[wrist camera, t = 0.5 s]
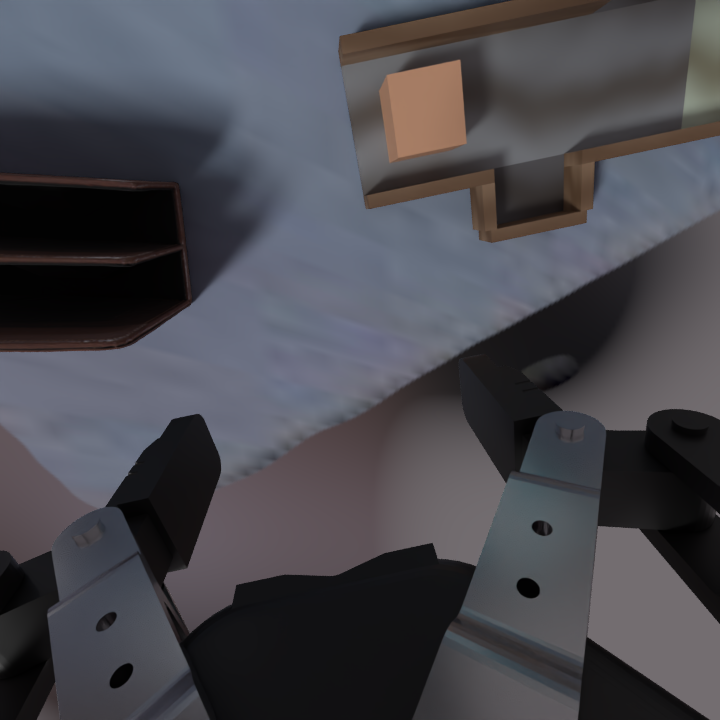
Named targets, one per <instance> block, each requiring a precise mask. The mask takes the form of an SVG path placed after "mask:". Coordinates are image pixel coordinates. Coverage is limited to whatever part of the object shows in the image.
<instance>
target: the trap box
mask: <svg viewBox="0 0 720 720" xmlns="http://www.w3.org/2000/svg"><path fill="white" fill-rule="evenodd" d="M338 52H339V58H340V63H341V69H342V75H343V81H344V86H345V92H346V98H347V104H348V109H349V115H350V121H351V126H352V132H353V138H354V144H355V149H356V155H357V161H358V166H359V172H360V178H361V184H362V189H363V195H364V201H365V206H366V209H372V208H377V207H381V206H386V205H391V204H396V203H400V202H405V201H410V200H415V199H419V198H424V197H429V196H434V195H438V194H443V193H448V192H453V191H457V190H462V189H467V188H470V196H471V209H472V223H473V229H474V230H479V240H482V241H487V242H491V243H493V242H498V241H503V240H507V239H512V238H517V237H522V236H526V235H531V234H536V233H541V232H545V231H550V230H555V229H559V228H564V227H569V226H574V225H578V224H583V223H586V220H587V210H590V209H593V191H594V165H595V161H600V160H605V159H610V158H614V157H619V156H624V155H629V154H633V153H638V152H643V151H648V150H652V149H657V148H662V147H667V146H671V145H676V144H681V143H686V142H690V141H695V140H700V139H705V138H709V137H714V136H719V135H720V0H512V1H507V2H502V3H497V4H492V5H488V6H483V7H478V8H473V9H468V10H464V11H459V12H454V13H449V14H444V15H440V16H435V17H430V18H425V19H420V20H415V21H411V22H406V23H401V24H396V25H391V26H387V27H382V28H377V29H372V30H367V31H363V32H358V33H353V34H348V35H343V36H340V39H339V50H338ZM456 60H460V62H461V75H462V88H463V101H464V115H465V128H466V141H467V144H464V145H462V146H460V147H457V148H455V149H452V150H450V151H445V152H441V153H436V154H431V155H426V156H421V157H417V158H412V159H407V160H402V161H398V162H393V163H390V162H389V156H388V149H387V142H386V135H385V128H384V121H383V115H382V108H381V101H380V94H379V90H380V88H381V86H382V84H383V82H384V80H385V78H386V76H387V75H389V74H394V73H398V72H403V71H408V70H413V69H418V68H422V67H427V66H432V65H437V64H441V63H446V62H451V61H456Z"/></svg>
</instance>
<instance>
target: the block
mask: <svg viewBox="0 0 720 720" xmlns="http://www.w3.org/2000/svg"><path fill="white" fill-rule="evenodd" d="M379 94H380V101H381V108H382V115H383V121H384V128H385V135H386V142H387V149H388V156H389V162H390V163H393V162H398V161H402V160H407V159H412V158H417V157H421V156H426V155H431V154H436V153H441V152H445V151H450V150H452V149H455V148H457V147H460V146H462V145H464V144H467V141H466V128H465V115H464V101H463V88H462V75H461V62H460V60H456V61H451V62H446V63H441V64H437V65H432V66H427V67H422V68H418V69H413V70H408V71H403V72H398V73H394V74H389V75H387V76H386V78H385V80H384V82H383V84H382V86H381V88H380V90H379Z"/></svg>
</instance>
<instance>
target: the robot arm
mask: <svg viewBox="0 0 720 720" xmlns="http://www.w3.org/2000/svg"><path fill="white" fill-rule="evenodd" d="M459 374H460V385H461V396H462V405H463V410H464V414H465V416H466V419H467V422H468V423H469V425H470V427H471V428H472V429H473V431H474V433H475V435H476V436H477V438H478V439H479V441H480V443H481V444H482V446H483V447H484V449H485V450H486V452H487V454H488V455H489V457H490V458H491V460H492V462H493V463H494V465H495V466H496V468H497V470H498V471H499V473H500V474H501V476H502V477H503V479H504V481H505V482H506V486H505V489H504V492H503V494H502V497H501V500H500V503H499V506H498V509H497V511H496V514H495V517H494V519H493V523H492V525H491V528H490V530H489V533H488V536H487V539H486V542H485V544H484V547H483V550H482V553H481V555H480V558H479V561H478V564H477V566H474V565H471V564H467V563H464V562H460V561H454V560H448V559H437V555H436V552H435V549H434V546H433V543H430V544H425V545H421V546H416V547H411V548H407V549H402V550H397V551H393V552H388V553H384V554H382V555H380V556H378V557H376V558H373V559H371V560H369V561H367V562H365V563H363V564H360V565H358V566H356V567H354V568H352V569H350V570H348V571H346V572H344V573H341V574H339V575H336V576H309V575H281V576H276V577H272V578H267V579H262V580H258V581H253V582H248V583H244V584H239V585H236V590H235V594H234V599H233V603H232V605H229V606H227V607H226V608H224V609H222V610H221V611H219V612H217V613H215V614H214V615H213V616H211V617H210V618H208V619H207V620H206V621H204V622H203V623H202V624H200V625H199V626H198V627H197V628H196V629H195V630H194V631H192V632H191V633H190V632H189V630H188V628H187V626H186V624H185V622H184V620H183V618H182V616H181V614H180V612H179V610H178V608H177V606H176V604H175V602H174V600H173V598H172V596H171V594H170V592H169V590H168V588H167V586H166V585H165V583H164V579H165V577H166V574H167V572H172V571H177V570H181V569H186V568H187V567H188V564H189V561H190V559H191V555H192V553H193V550H194V547H195V544H196V542H197V539H198V536H199V533H200V530H201V527H202V525H203V522H204V519H205V516H206V513H207V511H208V508H209V505H210V502H211V499H212V497H213V494H214V491H215V488H216V485H217V482H218V480H219V477H220V473H221V461H220V457H219V454H218V451H217V449H216V446H215V444H214V442H213V439H212V437H211V435H210V432H209V430H208V428H207V425H206V423H205V421H204V419H203V417H202V416H201V415H200V414H195V415H190V416H185V417H180V418H176V419H173V420H171V422H170V423H169V425H168V426H167V428H166V429H165V431H164V432H163V434H162V436H161V437H160V438H158V439H157V440H155V441H154V442H153V443H152V444H151V445H150V446H148V447H147V448H146V449H145V450H144V451H143V452H142V454H141V455H140V457H139V458H138V460H137V461H136V463H135V465H134V466H133V467H132V468H131V470H130V471H129V473H128V476H126V477H125V479H124V480H123V482H122V483H121V485H120V486H119V488H118V489H117V490H116V492H115V493H114V495H113V496H112V498H111V499H110V501H109V502H108V504H107V505H106V507H105V508H100V509H97V510H95V511H92V512H90V513H88V514H86V515H84V516H83V517H81V518H79V519H77V520H76V521H75V522H73V523H72V524H71V525H69V526H68V527H67V528H66V529H65V530H64V531H63V532H62V533H61V534H60V535H59V536H58V537H57V539H56V540H55V542H54V544H53V546H52V551H49V552H47V553H45V554H42V555H40V556H38V557H35V558H33V559H31V560H28V561H26V562H24V563H21V564H18V563H17V562H16V560H15V559H14V558H13V557H12V556H11V554H10V553H9V552H7V551H0V720H37V717H38V716H39V714H40V712H41V709H42V708H43V706H44V704H45V701H46V699H47V697H48V695H49V693H50V691H51V689H52V687H53V685H54V683H55V682H56V690H57V699H58V706H59V714H60V720H709V719H708V718H706V717H705V716H703V715H701V714H700V713H699V712H697V711H696V710H694V709H693V708H691V707H690V706H689V705H687V704H686V703H684V702H683V701H681V700H680V699H678V698H677V697H675V696H674V695H672V694H671V693H669V692H668V691H666V690H665V689H663V688H662V687H660V686H659V685H657V684H656V683H654V682H653V681H651V680H650V679H648V678H647V677H646V676H644V675H643V674H641V673H640V672H638V671H637V670H635V669H633V668H632V667H631V666H629V665H628V664H626V663H625V662H623V661H622V660H620V659H619V658H617V657H616V656H614V655H613V654H611V653H610V652H609V651H607V650H605V649H604V648H603V647H601V646H600V645H598V644H597V643H595V642H594V641H592V640H591V639H589V638H588V637H587V633H588V623H589V612H590V601H591V591H592V579H593V570H594V560H595V549H596V539H597V529H598V526H608V527H623V528H639V529H640V530H641V532H642V533H643V534H644V535H645V536H646V537H647V539H648V540H649V541H650V542H651V543H652V544H653V546H654V547H655V548H656V549H657V550H658V551H659V553H660V554H661V555H662V556H663V557H664V559H665V560H666V561H667V562H668V563H669V565H671V567H672V568H673V569H674V570H675V571H676V573H677V574H678V575H679V576H680V578H681V579H682V580H683V581H684V582H685V583H686V585H687V586H688V587H689V588H690V589H691V590H692V592H693V593H694V594H695V595H696V596H697V598H698V599H699V600H700V601H701V602H702V603H703V605H704V606H705V607H706V608H707V609H708V611H709V612H710V613H711V614H712V615H713V616H714V618H715V619H716V620H717V621H718V622H719V624H720V517H718V516H717V515H716V514H715V513H716V511H717V512H718V513H719V514H720V420H719V419H717V418H715V417H712V416H709V415H707V414H704V413H700V412H696V411H691V410H683V409H669V410H662V411H658V412H655V413H653V414H652V415H651V416H650V417H649V418H648V420H647V426H646V431H613V430H605V427H604V426H603V425H602V424H601V423H600V422H599V421H598V420H596V419H595V418H593V417H591V416H588V415H586V414H583V413H579V412H573V411H563V410H562V409H561V408H560V407H559V406H557V405H556V404H555V403H554V402H553V401H552V400H551V399H550V398H549V397H548V396H547V395H546V394H544V393H543V392H542V391H541V390H540V389H538V387H537V386H536V385H535V384H534V383H532V382H530V380H529V379H528V378H527V377H526V376H525V375H524V374H523V373H522V372H520V371H518V370H515V369H513V368H511V367H508V366H501V367H498V366H497V365H495V363H494V362H493V361H492V360H491V359H490V358H489V357H488V356H487V355H486V354H481V355H476V356H472V357H467V358H462V359H460V360H459Z"/></svg>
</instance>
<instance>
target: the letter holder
mask: <svg viewBox="0 0 720 720" xmlns="http://www.w3.org/2000/svg"><path fill="white" fill-rule="evenodd" d="M191 303H192V294H191V284H190V277H189V267H188V257H187V249H186V238H185V230H184V221H183V214H182V206H181V197H180V190H179V184H178V183H175V182H151V181H140V180H122V179H119V180H118V179H107V178H106V179H103V178H87V177H67V176H51V175H35V174H16V173H0V352H55V351H99V350H111V349H120V348H124V347H127V346H130V345H132V344H134V343H136V342H137V341H138V340H140V339H142V338H143V337H145V336H146V335H148V334H149V333H151V332H152V331H154V330H155V329H157V328H158V327H160V326H161V325H162V324H164V323H165V322H166V321H168V320H169V319H171V318H172V317H174V316H175V315H177V314H178V313H179V312H181V311H182V310H183V309H185V308H187V307H189V306H190V305H191Z"/></svg>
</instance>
